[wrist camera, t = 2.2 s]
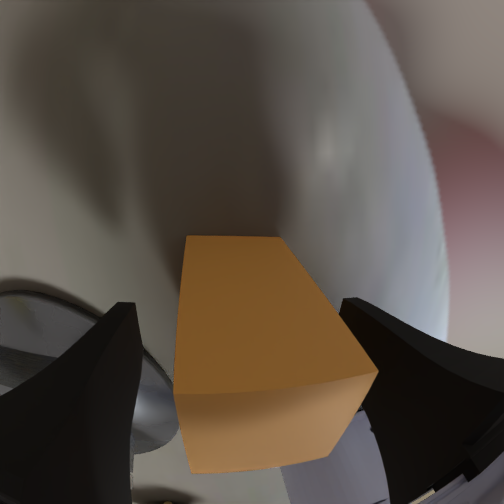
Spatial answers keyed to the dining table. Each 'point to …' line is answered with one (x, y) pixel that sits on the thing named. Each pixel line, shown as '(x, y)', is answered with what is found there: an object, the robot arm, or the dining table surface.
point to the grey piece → (61, 339)
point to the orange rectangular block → (260, 358)
